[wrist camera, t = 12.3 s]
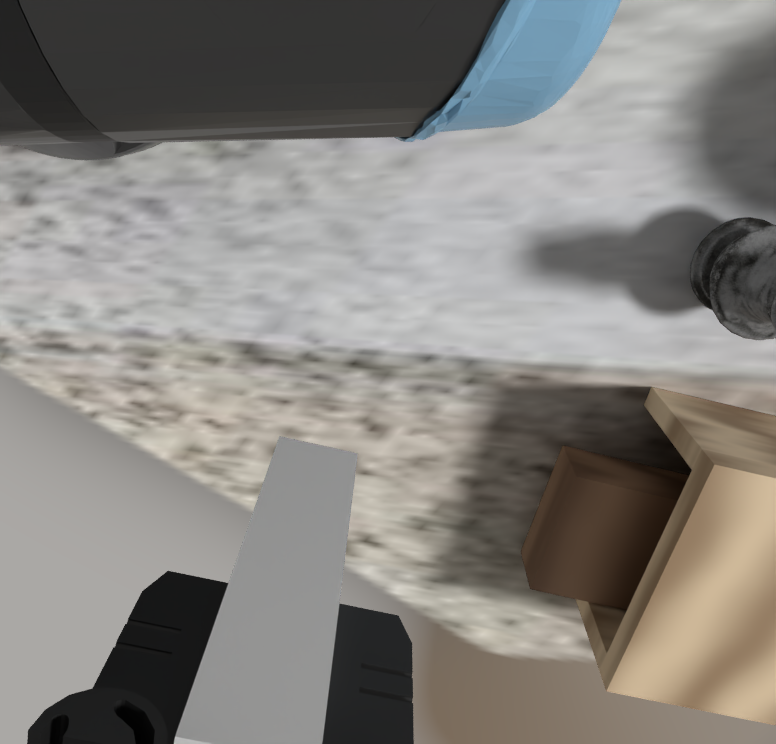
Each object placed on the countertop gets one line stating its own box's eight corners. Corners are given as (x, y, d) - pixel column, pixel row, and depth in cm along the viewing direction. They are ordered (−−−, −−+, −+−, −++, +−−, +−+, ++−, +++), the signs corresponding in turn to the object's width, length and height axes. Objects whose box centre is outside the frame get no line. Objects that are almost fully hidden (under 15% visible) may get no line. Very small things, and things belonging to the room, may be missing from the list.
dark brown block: (519, 548, 46) (530, 589, 42) (561, 442, 43) (576, 476, 39) (692, 587, 47) (717, 630, 43) (745, 486, 44) (776, 523, 40)
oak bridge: (569, 582, 47) (606, 691, 38) (651, 386, 41) (714, 464, 33) (729, 616, 47) (799, 730, 39) (830, 428, 42) (936, 514, 34)
